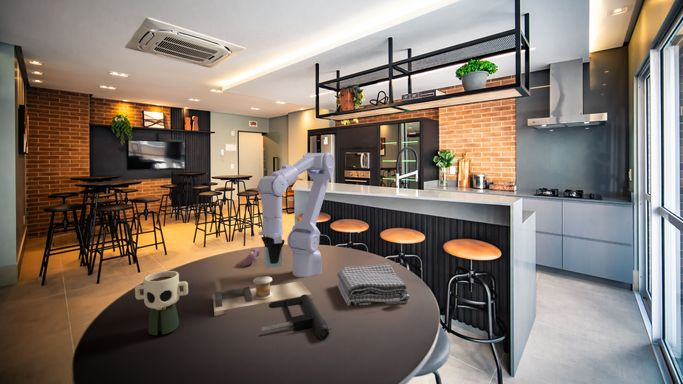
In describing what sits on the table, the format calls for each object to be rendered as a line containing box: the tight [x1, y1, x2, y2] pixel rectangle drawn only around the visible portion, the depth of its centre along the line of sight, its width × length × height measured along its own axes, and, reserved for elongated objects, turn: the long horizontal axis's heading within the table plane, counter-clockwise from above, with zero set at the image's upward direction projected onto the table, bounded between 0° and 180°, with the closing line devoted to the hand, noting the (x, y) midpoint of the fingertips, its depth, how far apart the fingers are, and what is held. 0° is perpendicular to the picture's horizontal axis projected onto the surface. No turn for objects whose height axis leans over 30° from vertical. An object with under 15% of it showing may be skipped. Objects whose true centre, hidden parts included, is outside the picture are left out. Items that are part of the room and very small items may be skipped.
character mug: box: [134, 270, 189, 336], centre depth 72 cm, size 11×7×13 cm, turn 104°
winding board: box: [212, 275, 313, 317], centre depth 89 cm, size 26×11×6 cm, turn 114°
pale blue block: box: [263, 246, 283, 269], centre depth 93 cm, size 4×3×6 cm, turn 114°
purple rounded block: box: [240, 247, 262, 268], centre depth 121 cm, size 10×5×7 cm, turn 0°
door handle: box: [258, 294, 333, 340], centre depth 76 cm, size 3×20×16 cm
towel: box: [336, 263, 410, 307], centre depth 91 cm, size 15×18×8 cm
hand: (273, 261), depth 93 cm, fingers closed on pale blue block, 3 cm apart
